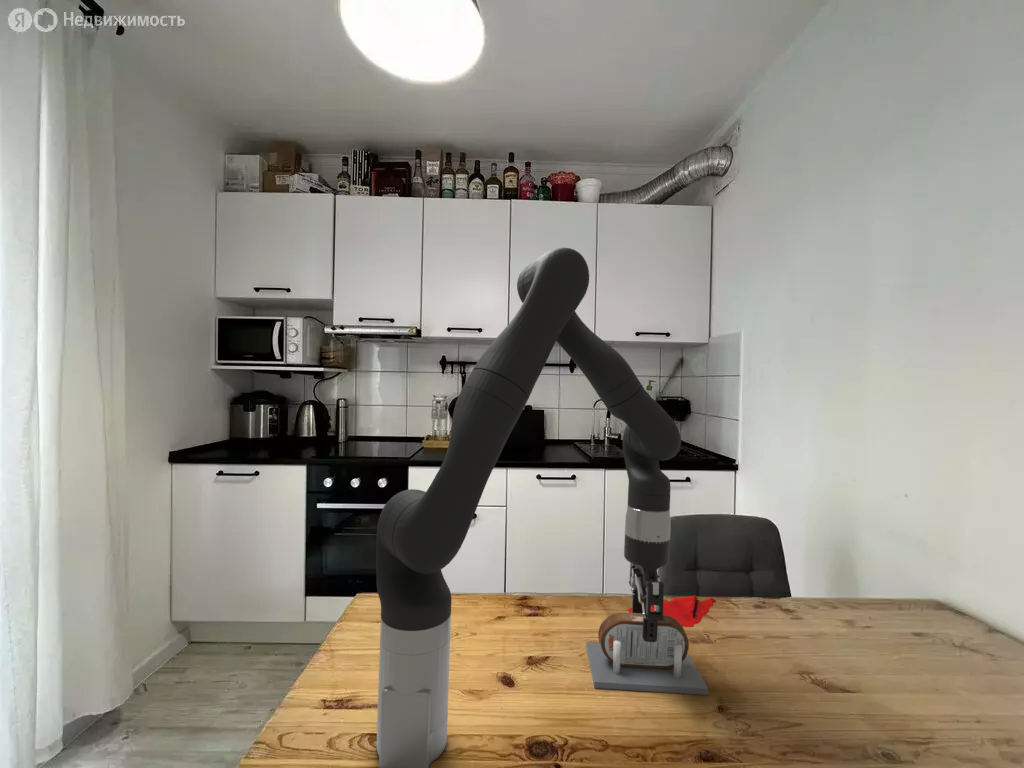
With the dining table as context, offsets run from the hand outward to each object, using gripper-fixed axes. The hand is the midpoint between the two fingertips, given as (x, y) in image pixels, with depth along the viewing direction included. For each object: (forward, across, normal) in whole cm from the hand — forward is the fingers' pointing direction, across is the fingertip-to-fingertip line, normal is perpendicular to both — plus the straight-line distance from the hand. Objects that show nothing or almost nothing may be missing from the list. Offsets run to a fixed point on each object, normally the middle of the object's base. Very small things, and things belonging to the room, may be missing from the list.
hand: (643, 627), depth 81 cm
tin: (+6, 0, 0) cm, 7 cm away
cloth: (+8, +23, -12) cm, 27 cm away
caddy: (+7, 0, 0) cm, 7 cm away
